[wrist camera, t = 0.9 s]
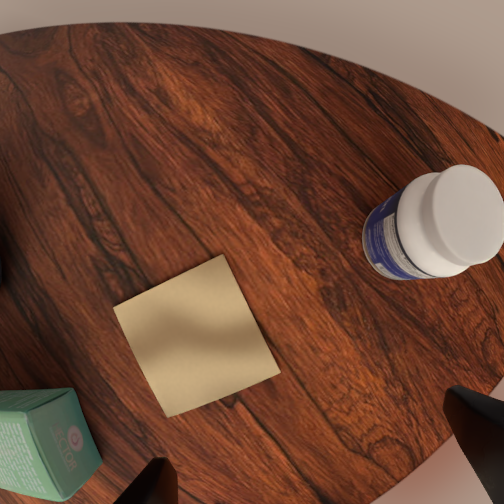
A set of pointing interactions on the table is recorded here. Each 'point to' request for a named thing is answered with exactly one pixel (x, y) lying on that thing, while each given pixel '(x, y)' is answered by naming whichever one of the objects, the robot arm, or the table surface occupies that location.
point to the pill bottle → (436, 226)
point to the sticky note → (196, 338)
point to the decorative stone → (0, 272)
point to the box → (45, 444)
